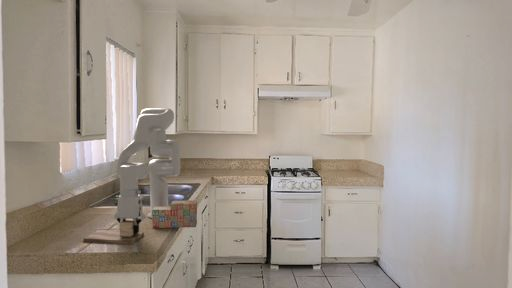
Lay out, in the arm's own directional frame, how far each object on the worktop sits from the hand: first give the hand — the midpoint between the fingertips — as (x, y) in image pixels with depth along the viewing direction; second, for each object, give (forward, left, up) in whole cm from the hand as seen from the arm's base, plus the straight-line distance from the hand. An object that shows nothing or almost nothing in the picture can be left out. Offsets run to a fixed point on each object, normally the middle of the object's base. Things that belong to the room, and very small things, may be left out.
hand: (129, 232), depth 155 cm
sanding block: (0, 0, -1) cm, 1 cm away
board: (+1, -7, -3) cm, 8 cm away
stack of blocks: (-22, +13, -3) cm, 25 cm away
